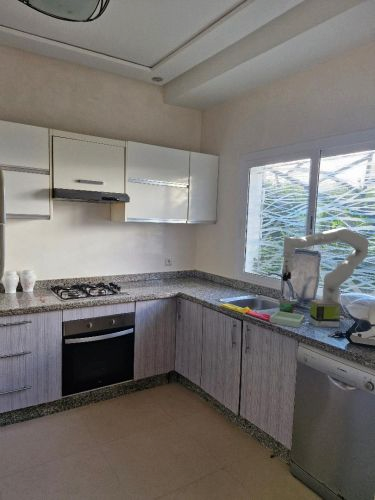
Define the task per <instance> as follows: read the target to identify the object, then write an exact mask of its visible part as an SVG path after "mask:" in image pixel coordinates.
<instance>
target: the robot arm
mask: <svg viewBox="0 0 375 500" xmlns="http://www.w3.org/2000/svg"><path fill="white" fill-rule="evenodd" d="M339 242H342V243H345V244H346V245H348V246H350V247H352V248H353V250H352V251H351V252H350V253H349V254H348V255H347V256H346V257H345V258H344V259H343V260H342V261H340V262H339V263H338V264H337V266H336V268H334V269H333V270H332V271H329V272H327V273H326V274H325V275H324V277H323V289H322V300H328V301H335V302H337V303H339V293H340V287H341V286H342V285H343V284H344V283H345V282H346V281H347V280H348V279H350V277H352V276H353V274H354V272H355V269H357V267H359V266H360V264H361V263H362V262H364V260H365V259H366V258H367V256H368V253H369V245H370V242H369V240H368V238H366V237H365V236H363V235H361V234H359V233H357V232H355V231H353V230H351V229H349V228H347V227H345V226H344V227H339V228H338V227H337V228H333V229H329V230H326V231H320V232H317V233H315V234H310V235H306V236H305V235H304V236H300V237H294V236H285V237H284V240H283V251H282V257H283V265H282V271H283V273H282V281H283V282H288V281H289V280H291V279H292V272H293V271H294V259H295V254H296V249H300V250H301V249H305V248H309V247H313V246H314V247H315V246H324V245H325V246H326V245H329V244H333V243H339ZM340 320H345V316H343V315H340Z"/></svg>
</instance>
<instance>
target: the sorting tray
mask: <svg viewBox="0 0 375 500" xmlns="http://www.w3.org/2000/svg"><path fill="white" fill-rule="evenodd" d="M305 319H306V316H305V315H304V314H298V313H294V312H293V313H287V312H281V311H280V310H276V311H275V312H273V314H272V315H270V316H269V322H268V323H270V322H271V324H275V323H276V324H277V325H282V326H287V327H293V328H298V329H299V328H300V327H301V326H302V325H303V323H304V322H305Z"/></svg>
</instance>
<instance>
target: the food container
mask: <svg viewBox="0 0 375 500" xmlns="http://www.w3.org/2000/svg"><path fill="white" fill-rule="evenodd" d="M278 302H279V311H281V312H287V313H293V314H294V312H295V311H294V310H295V305H296V304H297V303H296V300H289V299H284V298H282V297H279V298H278Z"/></svg>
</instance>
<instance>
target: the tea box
mask: <svg viewBox="0 0 375 500" xmlns="http://www.w3.org/2000/svg"><path fill="white" fill-rule="evenodd" d="M309 311H310V313H309V322H310V323H311V324H312V325H313V326H315V327H321V328H322V327H327V328H329V327H330V328H333V327H334V328H340V322H341V319H340V316H341V303H339V302H338V303H337V302H335V301H328V300H321V299H319V300H318V299H317V300H315V299H311V301H310V310H309Z"/></svg>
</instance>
